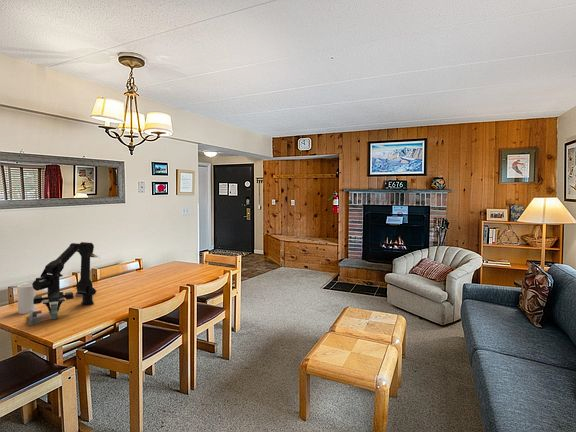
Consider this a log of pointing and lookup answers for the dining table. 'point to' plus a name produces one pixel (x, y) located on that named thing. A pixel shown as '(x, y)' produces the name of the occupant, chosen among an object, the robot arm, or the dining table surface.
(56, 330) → the dining table surface
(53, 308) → the scraper
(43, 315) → the tile
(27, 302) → the cup
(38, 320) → the stop bay
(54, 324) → the dining table surface
